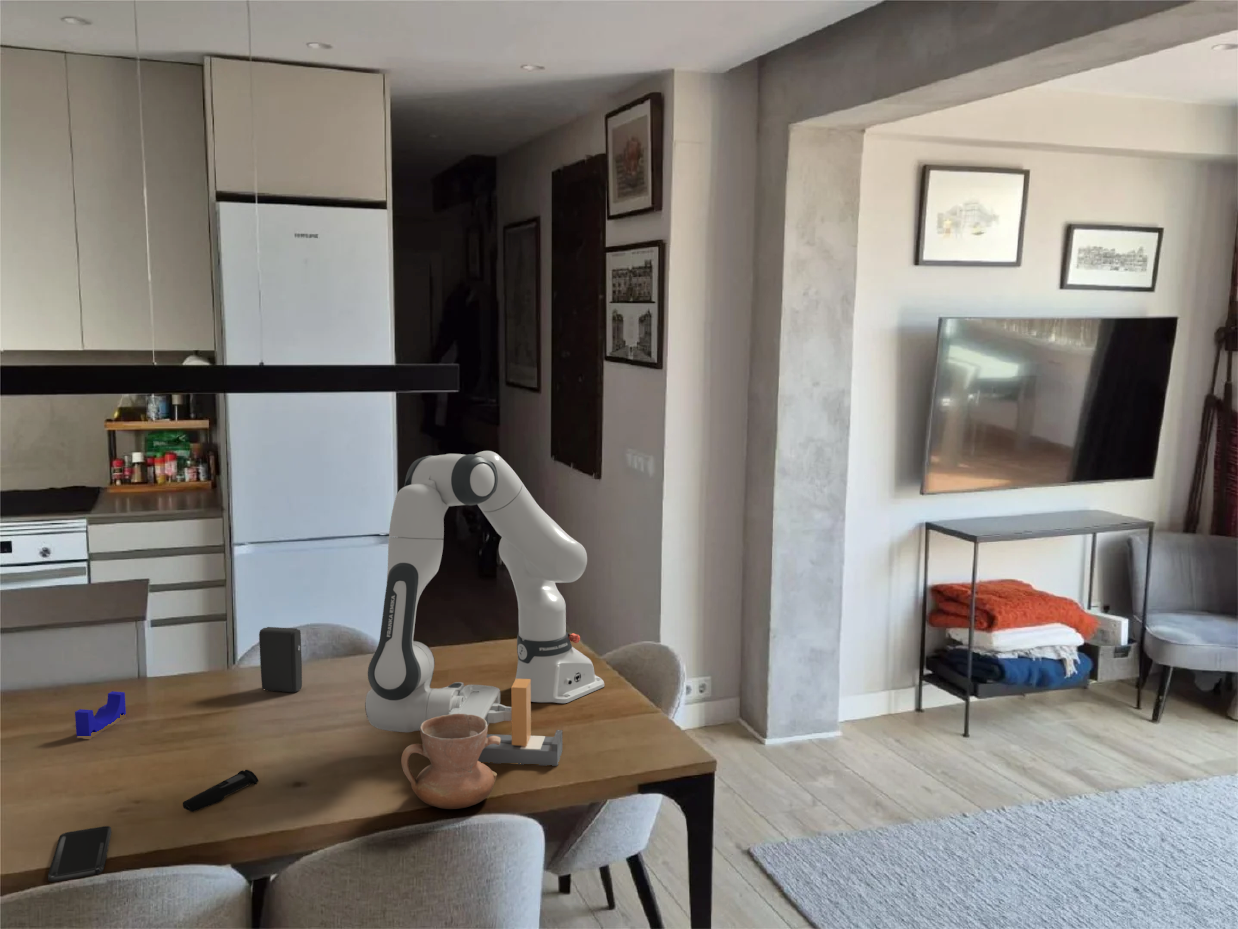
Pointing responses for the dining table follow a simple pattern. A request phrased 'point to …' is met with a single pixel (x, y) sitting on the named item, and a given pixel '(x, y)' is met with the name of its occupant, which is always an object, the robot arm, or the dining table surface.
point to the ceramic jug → (452, 762)
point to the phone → (80, 853)
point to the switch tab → (521, 711)
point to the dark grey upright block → (280, 659)
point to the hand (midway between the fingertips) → (513, 714)
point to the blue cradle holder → (100, 715)
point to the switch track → (524, 750)
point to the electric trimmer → (220, 791)
